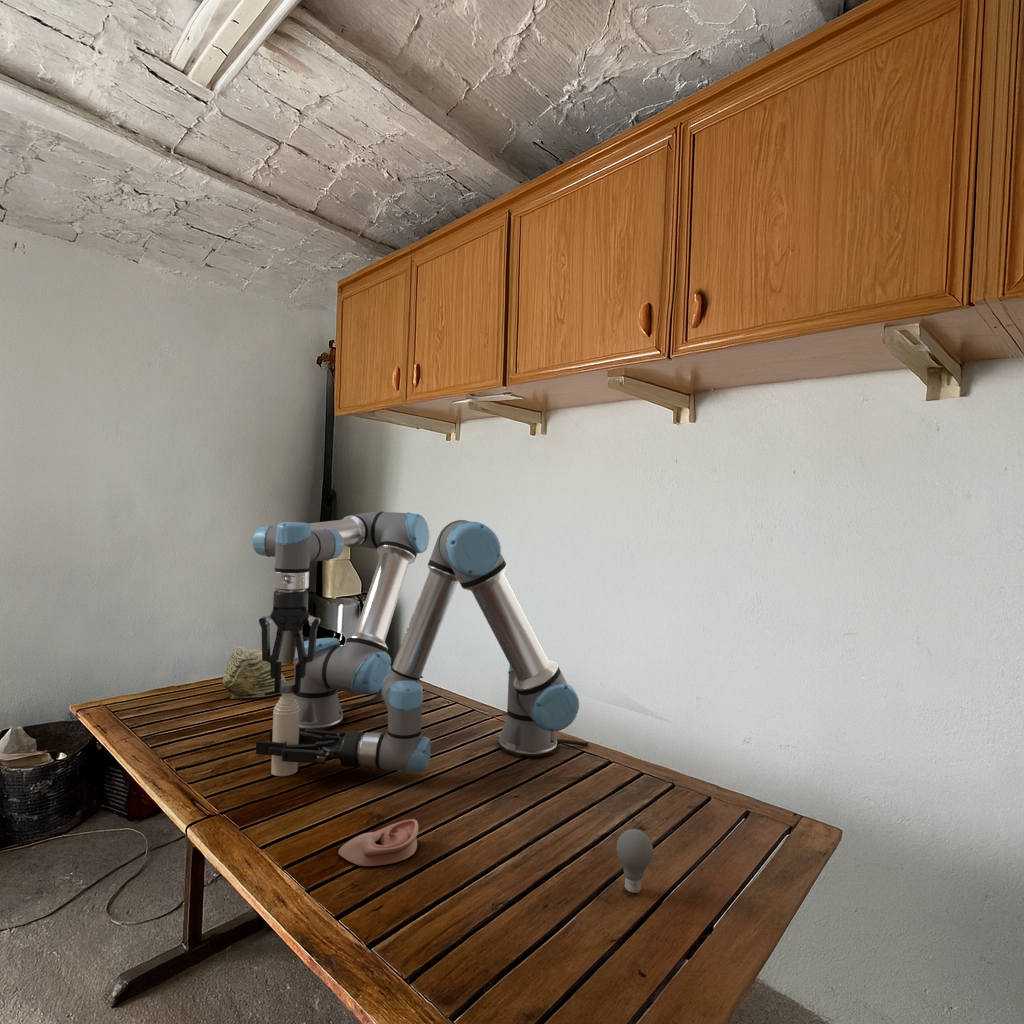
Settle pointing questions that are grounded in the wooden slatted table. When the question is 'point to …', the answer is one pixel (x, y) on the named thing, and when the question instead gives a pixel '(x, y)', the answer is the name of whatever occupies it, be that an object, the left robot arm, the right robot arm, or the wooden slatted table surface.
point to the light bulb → (634, 857)
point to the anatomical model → (382, 845)
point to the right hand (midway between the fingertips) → (264, 741)
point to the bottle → (285, 732)
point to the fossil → (248, 674)
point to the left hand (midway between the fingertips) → (287, 691)
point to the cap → (287, 687)
